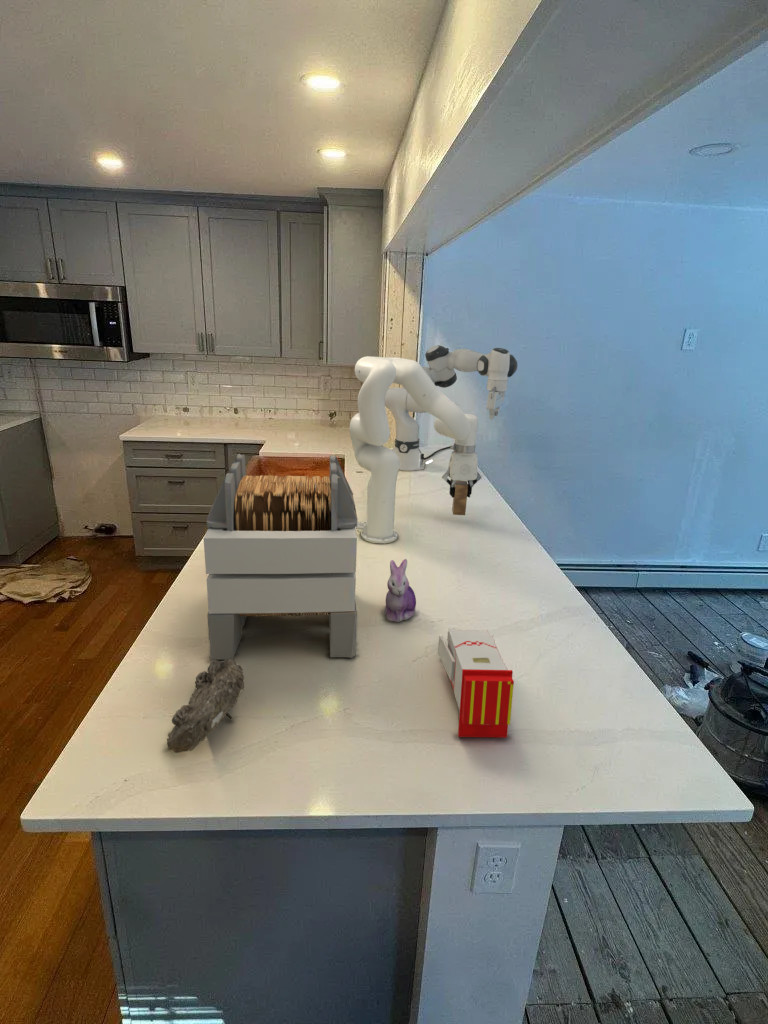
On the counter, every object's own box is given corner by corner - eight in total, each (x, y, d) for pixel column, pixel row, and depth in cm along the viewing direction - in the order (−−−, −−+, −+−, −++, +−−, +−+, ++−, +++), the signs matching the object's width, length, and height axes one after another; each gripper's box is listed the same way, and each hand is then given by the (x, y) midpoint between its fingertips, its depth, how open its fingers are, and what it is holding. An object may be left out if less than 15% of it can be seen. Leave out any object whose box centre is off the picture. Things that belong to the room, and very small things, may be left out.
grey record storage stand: (230, 589, 156) (222, 444, 142) (349, 588, 159) (352, 446, 146) (207, 662, 124) (194, 484, 110) (356, 658, 128) (362, 486, 114)
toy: (488, 613, 130) (523, 677, 101) (484, 667, 133) (517, 744, 104) (435, 612, 130) (455, 676, 101) (432, 666, 133) (451, 743, 103)
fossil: (192, 660, 117) (244, 628, 112) (224, 691, 120) (276, 661, 115) (142, 746, 98) (202, 712, 93) (182, 779, 101) (242, 748, 96)
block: (453, 514, 210) (455, 484, 206) (452, 509, 216) (454, 480, 212) (465, 515, 210) (468, 485, 206) (463, 510, 216) (466, 480, 212)
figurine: (392, 627, 141) (395, 572, 136) (374, 608, 149) (376, 556, 144) (425, 619, 145) (429, 566, 140) (405, 601, 154) (408, 550, 149)
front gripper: (444, 451, 200) (440, 500, 206) (490, 451, 203) (485, 499, 209) (438, 446, 207) (435, 493, 213) (483, 446, 210) (478, 493, 216)
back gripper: (499, 389, 242) (495, 421, 247) (508, 384, 260) (504, 414, 265) (484, 388, 244) (481, 420, 249) (494, 383, 262) (491, 413, 267)
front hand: (460, 495), depth 211 cm, fingers closed on block, 5 cm apart
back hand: (493, 417), depth 257 cm, fingers open, 8 cm apart
